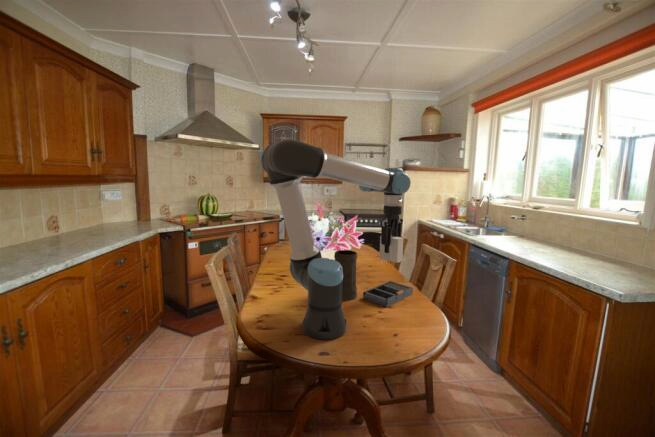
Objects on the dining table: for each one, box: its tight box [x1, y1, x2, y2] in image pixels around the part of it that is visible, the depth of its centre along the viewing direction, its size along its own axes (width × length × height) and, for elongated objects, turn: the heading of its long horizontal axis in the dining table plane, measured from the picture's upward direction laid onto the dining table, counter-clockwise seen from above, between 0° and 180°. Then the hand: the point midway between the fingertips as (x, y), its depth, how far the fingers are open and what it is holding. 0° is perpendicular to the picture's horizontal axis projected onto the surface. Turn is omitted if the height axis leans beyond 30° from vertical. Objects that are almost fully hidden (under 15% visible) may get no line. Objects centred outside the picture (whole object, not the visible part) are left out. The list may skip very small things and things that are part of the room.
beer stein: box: [333, 249, 358, 301], centre depth 134 cm, size 15×11×20 cm
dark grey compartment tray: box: [362, 280, 414, 308], centre depth 133 cm, size 20×12×4 cm, turn 135°
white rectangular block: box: [379, 235, 404, 263], centre depth 130 cm, size 4×9×10 cm, turn 44°
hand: (390, 258), depth 131 cm, fingers closed on white rectangular block, 4 cm apart
